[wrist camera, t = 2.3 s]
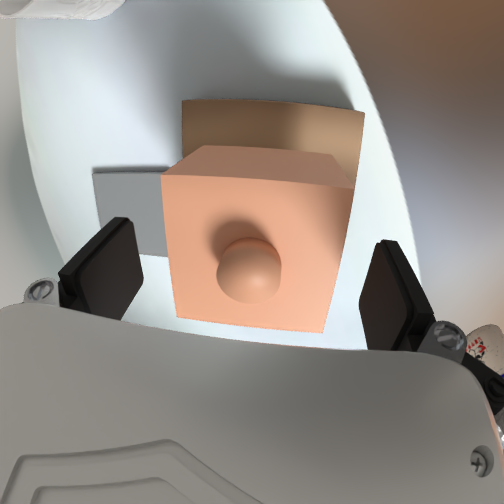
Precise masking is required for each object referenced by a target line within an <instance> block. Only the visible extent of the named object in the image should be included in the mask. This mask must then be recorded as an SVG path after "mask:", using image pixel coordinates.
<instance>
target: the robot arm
mask: <svg viewBox="0 0 504 504" xmlns="http://www.w3.org/2000/svg"><path fill="white" fill-rule="evenodd" d="M58 275H59V277H60V281H59V282H58V283H57V281H56V280H55V279H53V278H43V279H40V280H37V281H35V282H34V283H32V284H31V285H30V286H29V287H28V288H27V290H26V292H25V294H24V302H22V303H20V304H13V305H10V306H7V307H4V308H2V309H1V310H0V504H504V378H503V377H502V376H501V375H499V374H498V373H496V372H495V371H494V370H492V369H491V368H489V367H488V366H486V365H485V364H483V363H482V362H481V361H479V360H478V359H476V358H475V357H473V356H472V355H470V354H469V353H467V352H466V348H467V343H468V342H467V338H466V336H465V334H464V332H463V331H462V330H461V329H460V328H459V327H458V326H456V325H455V324H453V323H451V322H448V321H437V322H436V320H435V317H434V315H433V314H434V312H433V310H432V308H431V306H430V304H429V302H428V299H427V297H426V295H425V293H424V291H423V289H422V287H421V285H420V283H419V281H418V279H417V277H416V275H415V273H414V271H413V269H412V268H411V266H410V264H409V262H408V260H407V258H406V256H405V255H404V253H403V251H402V249H401V247H400V246H399V244H398V242H397V241H392V240H384V239H383V240H381V242H380V243H376V245H375V249H374V252H373V256H372V259H371V263H370V266H369V270H368V273H367V276H366V279H365V283H364V286H363V289H362V292H361V295H360V299H359V310H360V314H361V319H362V324H363V328H364V333H365V338H366V343H367V348H368V350H360V349H336V348H319V347H304V346H292V345H280V344H269V343H259V342H250V341H241V340H233V339H225V338H218V337H210V336H203V335H197V334H190V333H184V332H178V331H172V330H166V329H161V328H155V327H150V326H145V325H140V324H135V323H130V322H125V321H120V320H121V318H122V317H123V315H124V313H125V312H126V310H127V308H128V307H129V305H130V304H131V302H132V300H133V299H134V297H135V295H136V294H137V292H138V291H139V289H140V287H141V286H142V284H143V278H144V277H143V272H142V267H141V262H140V257H139V251H138V246H137V240H136V235H135V229H134V224H133V222H132V221H130V219H129V218H128V217H114V218H113V219H112V220H110V221H109V222H108V223H107V224H106V225H105V226H104V227H103V228H102V229H101V230H100V231H99V232H98V233H97V234H96V235H95V236H94V237H92V238H91V239H90V240H89V241H88V242H87V243H86V244H85V245H84V246H83V247H82V248H81V249H80V250H79V251H78V252H77V253H76V254H75V255H74V256H73V257H72V259H71V260H70V261H69V262H68V263H67V264H66V265H65V266H64V267H63V268H62V269H61V270H60V271H59V272H58Z"/></svg>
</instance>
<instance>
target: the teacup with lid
mask: <svg viewBox="0 0 504 504" xmlns="http://www.w3.org/2000/svg"><path fill="white" fill-rule="evenodd" d="M466 338H467V342H468V343H467V348H466V352H467V353H469V354H470V355H472V356H473V357H475V358H476V359H478V360H479V361H481V362H482V363H483V364H485V365H486V366H488V367H489V368H491V369H492V370H494V371H495V372H496V373H498V374H499V375H501V376H502V377H503V378H504V334H503V333H502V331H501V329H500V328H499V327H498V326H496V325H485V326H482V327H480V328H478V329H476V330H474V331H472V332H471V333H469V334H468V335H467V336H466Z"/></svg>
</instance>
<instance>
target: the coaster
mask: <svg viewBox="0 0 504 504" xmlns="http://www.w3.org/2000/svg"><path fill="white" fill-rule="evenodd" d="M162 173H164V172H96V173H94V174H92V178H93V185H94V192H95V198H96V204H97V210H98V216H99V221H100V226H101V229H102V228H103V227H104V226H105V225H106V224H107V223H108V222H109V221H110V220H112V219H113V218H114V217H128V218H129V219H130V221H132V222H133V224H134V229H135V235H136V240H137V246H138V251H139V254H143V255H152V256H162V257H168V250H167V242H166V233H165V223H164V212H163V201H162V189H161V174H162Z"/></svg>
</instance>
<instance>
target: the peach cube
mask: <svg viewBox="0 0 504 504" xmlns="http://www.w3.org/2000/svg"><path fill="white" fill-rule="evenodd" d="M161 189H162V201H163V212H164V223H165V233H166V242H167V250H168V258H169V266H170V274H171V281H172V288H173V295H174V301H175V308H176V314H177V317H179V318H185V319H192V320H199V321H206V322H214V323H221V324H229V325H238V326H246V327H256V328H265V329H276V330H287V331H299V332H312V333H323V329H324V325H325V322H326V318H327V314H328V311H329V307H330V303H331V299H332V295H333V291H334V287H335V283H336V279H337V275H338V270H339V266H340V262H341V257H342V253H343V248H344V243H345V238H346V233H347V228H348V223H349V218H350V213H351V207H352V202H353V196H354V190H355V189H354V187H353V186H352V184H351V183H350V181H349V179H348V178H347V176H346V175H345V173H344V172H343V170H342V169H341V167H340V166H339V164H338V163H337V161H336V160H335V158H334V157H333V156H332V154H324V153H315V152H306V151H296V150H285V149H273V148H259V147H241V146H213V145H203V146H202V147H200V148H198V149H197V150H195V151H194V152H193V153H191V154H190V155H188V156H187V157H185V158H184V159H182V160H181V161H179V162H178V163H176V164H175V165H174V166H172V167H171V168H169V169H168V170H167V171H165V172H164V173H162V174H161Z"/></svg>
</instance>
